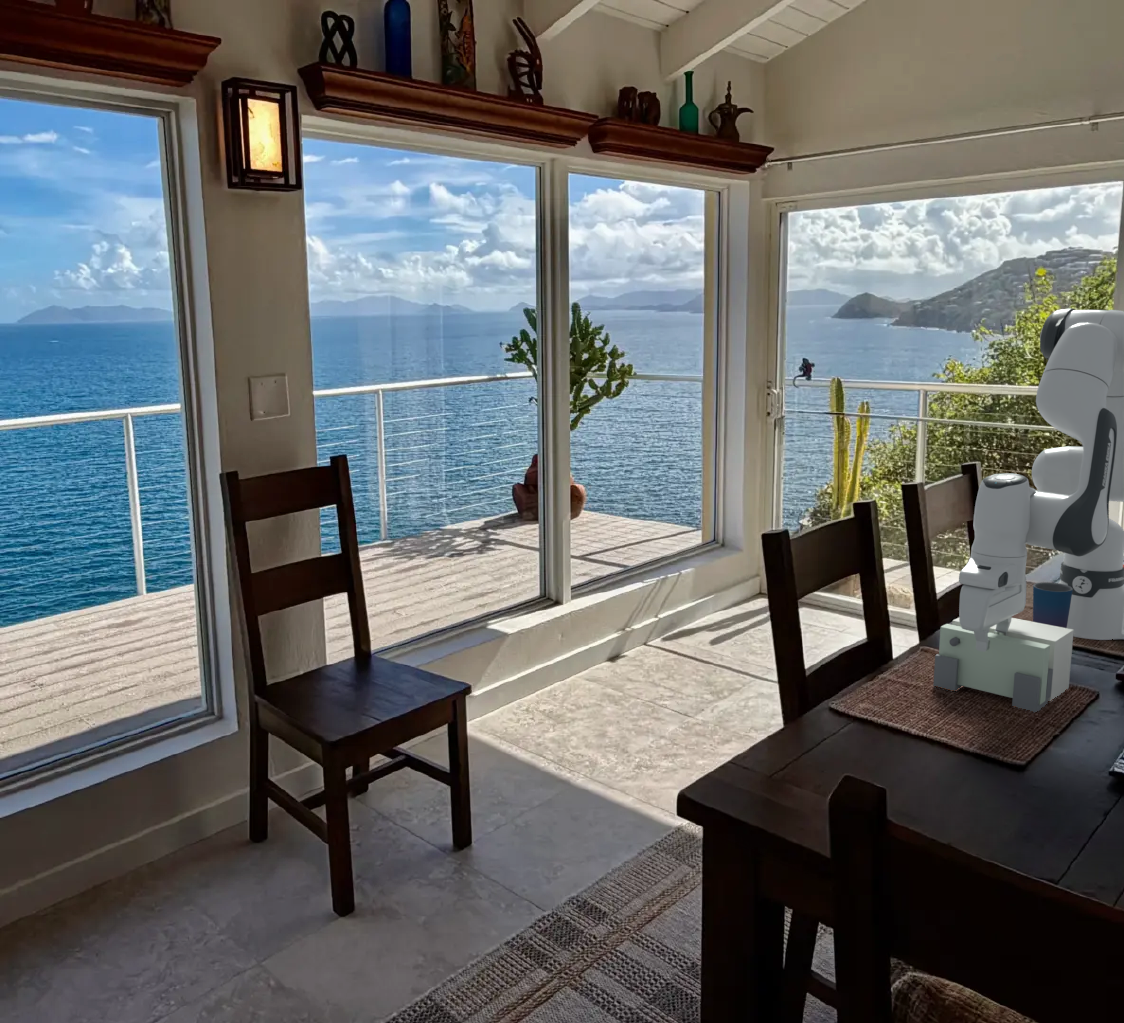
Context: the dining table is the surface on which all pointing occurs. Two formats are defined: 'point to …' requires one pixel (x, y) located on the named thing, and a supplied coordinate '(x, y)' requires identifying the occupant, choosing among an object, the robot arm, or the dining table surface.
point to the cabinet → (1024, 684)
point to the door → (994, 660)
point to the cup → (1051, 603)
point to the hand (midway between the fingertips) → (991, 645)
